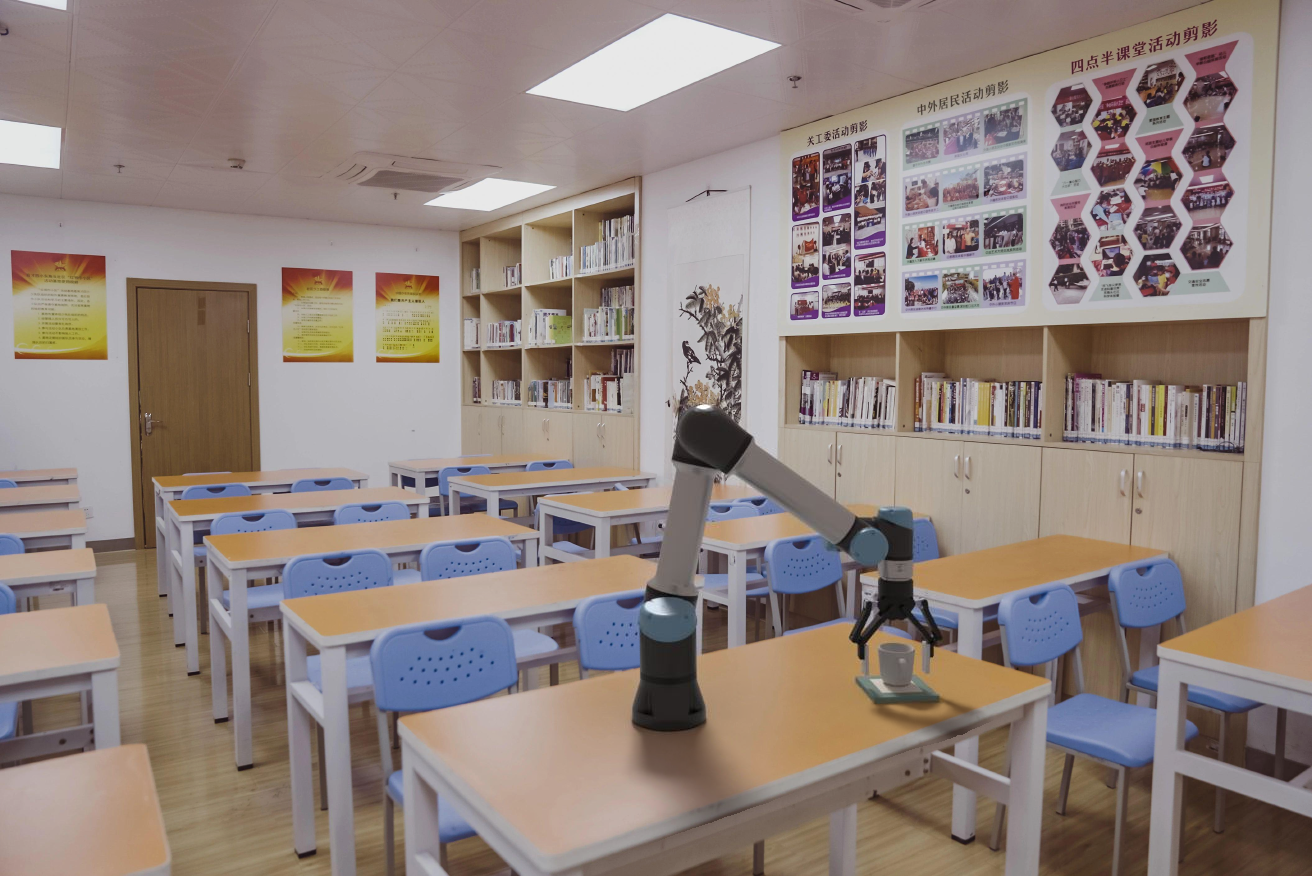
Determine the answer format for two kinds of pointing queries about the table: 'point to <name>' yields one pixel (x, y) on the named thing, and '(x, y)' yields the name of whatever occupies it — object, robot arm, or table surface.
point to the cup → (896, 663)
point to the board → (896, 690)
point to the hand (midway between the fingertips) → (895, 672)
